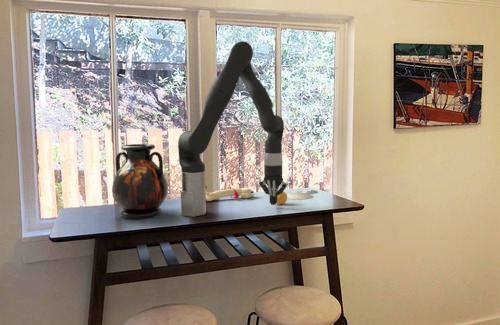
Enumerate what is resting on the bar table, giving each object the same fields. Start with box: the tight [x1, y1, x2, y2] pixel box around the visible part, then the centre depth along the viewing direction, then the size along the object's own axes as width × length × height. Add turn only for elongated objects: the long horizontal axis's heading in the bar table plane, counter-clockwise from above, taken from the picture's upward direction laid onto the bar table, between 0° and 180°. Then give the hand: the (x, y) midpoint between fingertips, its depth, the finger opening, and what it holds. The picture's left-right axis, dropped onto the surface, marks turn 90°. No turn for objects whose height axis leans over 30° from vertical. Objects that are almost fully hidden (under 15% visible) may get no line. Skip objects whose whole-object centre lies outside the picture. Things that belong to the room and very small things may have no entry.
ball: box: [276, 190, 288, 205], centre depth 187 cm, size 6×6×6 cm
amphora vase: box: [111, 143, 169, 220], centre depth 170 cm, size 22×22×28 cm
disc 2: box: [296, 189, 318, 195], centre depth 214 cm, size 10×10×1 cm
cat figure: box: [205, 184, 255, 202], centre depth 199 cm, size 10×9×25 cm
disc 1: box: [286, 192, 314, 200], centre depth 204 cm, size 14×14×1 cm
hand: (273, 204), depth 180 cm, fingers closed
